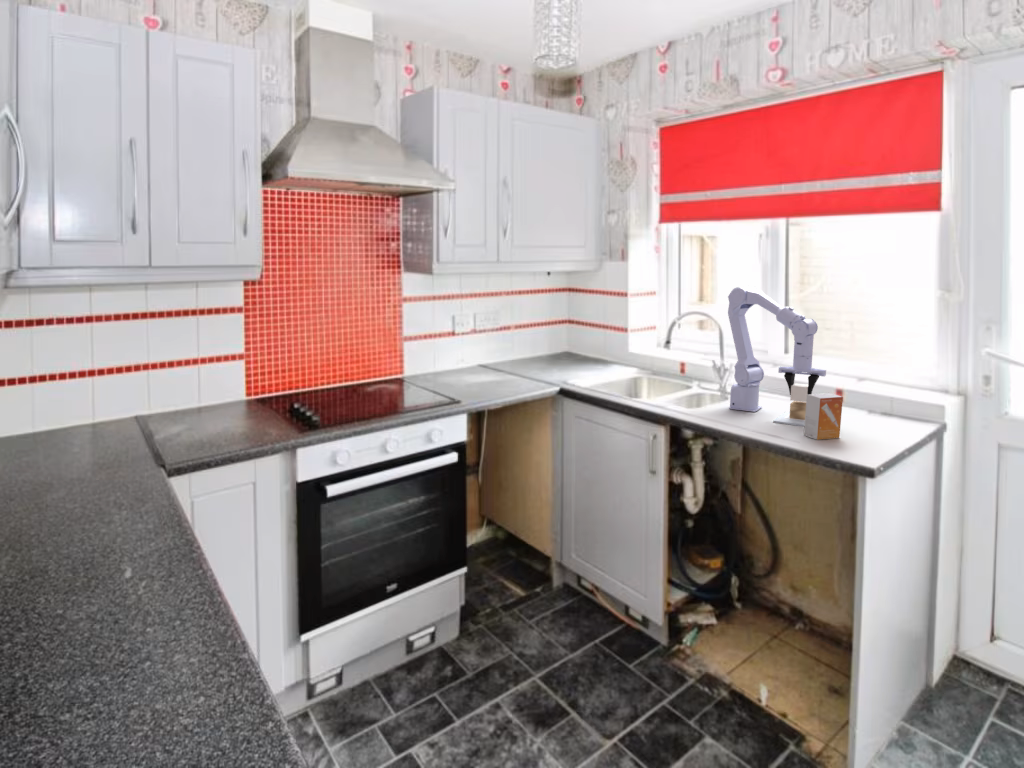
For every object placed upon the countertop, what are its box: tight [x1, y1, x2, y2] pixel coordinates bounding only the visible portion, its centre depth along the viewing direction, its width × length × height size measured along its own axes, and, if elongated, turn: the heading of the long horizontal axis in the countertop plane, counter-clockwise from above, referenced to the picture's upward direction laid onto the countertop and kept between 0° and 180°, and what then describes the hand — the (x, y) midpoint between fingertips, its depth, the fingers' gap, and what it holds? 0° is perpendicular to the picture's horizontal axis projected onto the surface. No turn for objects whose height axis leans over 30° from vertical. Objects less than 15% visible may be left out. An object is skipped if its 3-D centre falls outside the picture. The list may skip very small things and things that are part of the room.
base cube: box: [789, 401, 806, 420], centre depth 221 cm, size 5×5×5 cm
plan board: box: [773, 411, 805, 427], centre depth 221 cm, size 12×15×1 cm
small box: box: [803, 392, 844, 441], centre depth 199 cm, size 8×6×13 cm
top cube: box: [790, 382, 808, 402], centre depth 220 cm, size 5×5×5 cm
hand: (800, 395), depth 220 cm, fingers closed on top cube, 5 cm apart
